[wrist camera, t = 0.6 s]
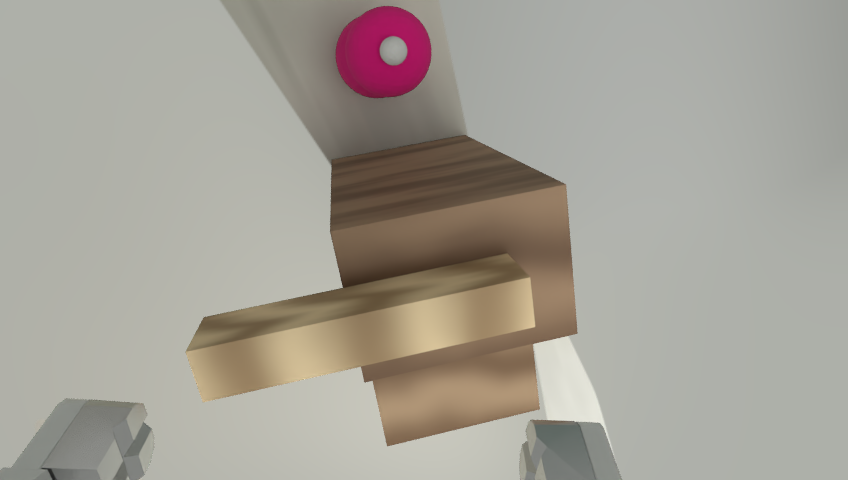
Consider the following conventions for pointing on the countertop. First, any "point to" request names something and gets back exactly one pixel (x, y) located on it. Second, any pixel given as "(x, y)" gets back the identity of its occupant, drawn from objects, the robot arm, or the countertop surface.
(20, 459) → the robot arm
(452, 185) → the step shelf
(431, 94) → the countertop surface
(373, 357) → the tan rectangular block
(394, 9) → the pepper mill
